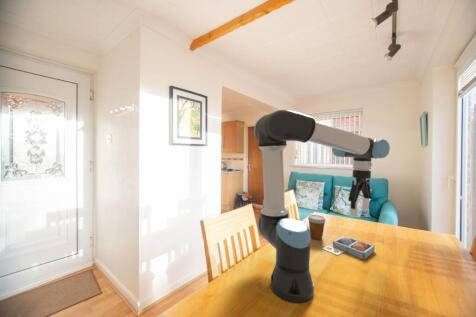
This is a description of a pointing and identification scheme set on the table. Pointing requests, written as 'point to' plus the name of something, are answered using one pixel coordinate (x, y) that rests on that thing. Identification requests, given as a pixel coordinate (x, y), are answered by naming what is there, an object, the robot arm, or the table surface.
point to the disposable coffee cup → (316, 226)
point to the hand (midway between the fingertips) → (359, 213)
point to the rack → (351, 250)
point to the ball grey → (346, 241)
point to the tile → (333, 250)
